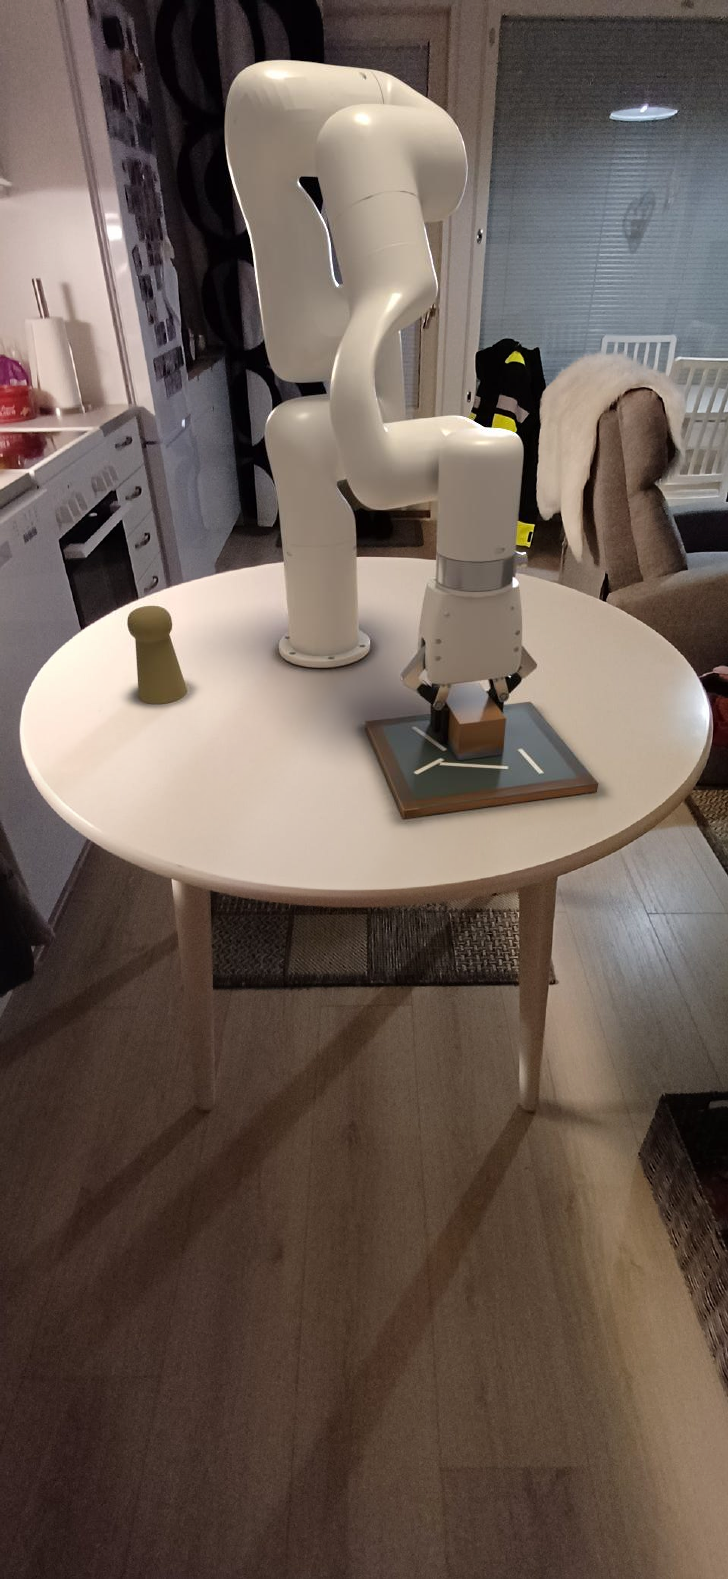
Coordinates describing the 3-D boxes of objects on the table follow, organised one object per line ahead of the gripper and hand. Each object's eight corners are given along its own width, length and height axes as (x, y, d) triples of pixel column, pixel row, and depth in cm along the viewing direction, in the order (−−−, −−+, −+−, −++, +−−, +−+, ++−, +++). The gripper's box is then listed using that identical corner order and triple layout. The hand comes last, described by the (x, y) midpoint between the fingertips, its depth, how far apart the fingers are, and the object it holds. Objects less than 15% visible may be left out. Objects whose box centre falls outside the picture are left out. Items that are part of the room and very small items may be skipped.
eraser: (431, 716, 89) (432, 681, 86) (472, 711, 90) (474, 676, 87) (458, 760, 81) (459, 724, 78) (503, 754, 82) (506, 717, 79)
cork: (175, 705, 95) (160, 620, 88) (130, 702, 96) (111, 617, 89) (194, 683, 99) (181, 601, 93) (150, 680, 101) (134, 599, 94)
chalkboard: (365, 728, 89) (365, 720, 88) (529, 708, 92) (530, 701, 91) (403, 818, 74) (403, 810, 74) (597, 791, 77) (598, 783, 77)
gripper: (541, 550, 79) (525, 708, 90) (380, 565, 77) (382, 726, 87) (573, 573, 73) (552, 739, 83) (399, 590, 71) (399, 760, 81)
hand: (465, 731), depth 85 cm, fingers closed on eraser, 5 cm apart
